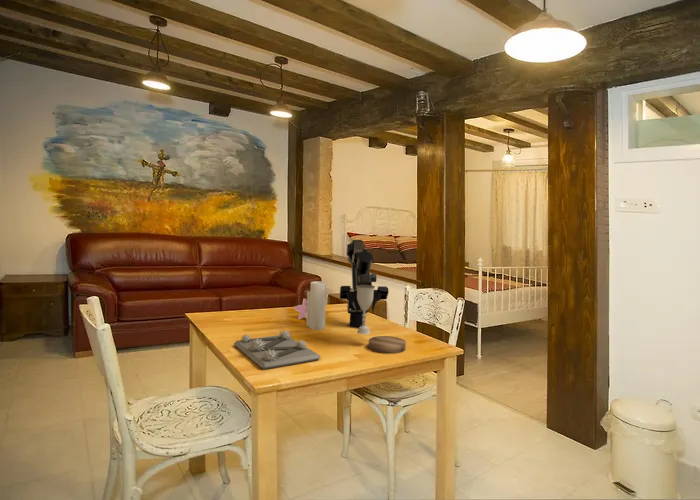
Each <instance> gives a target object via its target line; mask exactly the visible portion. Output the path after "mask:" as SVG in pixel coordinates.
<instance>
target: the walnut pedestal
mask: <svg viewBox="0 0 700 500" xmlns="http://www.w3.org/2000/svg"><path fill="white" fill-rule="evenodd" d="M406 344H407V342H406V340H405V339H403V338H400V337H397V336H391V335H379V336H378V335H377V336H374V337H371V338H369V339H368V349H369V350H371V351H372V352H375V353H378V354H379V353H381V354H389V353H390V354H400V353H402V352H403V353H404V351H406V348H407V345H406Z"/></svg>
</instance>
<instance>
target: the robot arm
mask: <svg viewBox="0 0 700 500" xmlns="http://www.w3.org/2000/svg"><path fill="white" fill-rule="evenodd" d="M346 257H347V261H348V262H349V263H350V264H351V284H352V286H351V285H341V286H340V287H339V299H340V300H347V305H346V306H347V310H346V312H347V314H349V323H348V324H347V325H346V326H347V327H351V328H356V329H359V327H360V326H362V325H363V321H362V319H363V316H362V315H363V310H362V309H361V308H360V306H359V304H358V300H357V287H356V285H373V283H376V282H377V281H378V280H377V273H370V272H371V271H370V270H371V267H372V263H373V262H374V256H373V255H372V252H370V251H369V250H368V249H366V245H365V243H364V240H362V239H353V240H351V242H350V243H348V244H347V247H346ZM389 292H390V291H389V287H388V286H387V285H385V286H382V285H380V286H377V289H374V291H373V301H372V304H371V312H372V313H373V312H374V311H375V308H376V305H377V302H380V301H381V300H388V296H389ZM367 313H369V309H368V310H366V314H367Z"/></svg>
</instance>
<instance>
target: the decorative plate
mask: <svg viewBox="0 0 700 500" xmlns="http://www.w3.org/2000/svg"><path fill="white" fill-rule="evenodd" d="M279 333H280V334H278V335H269V336H262V337H254V338H252V337H251V335H250V334H249V333H247V334H244V335H242V337H240V340H239V339H237V340H235V342H234V343H233V345H234V346H235V347H237V349H239V350H240V351H241V352H242V353H244V354H245V355H246V356H247V357H248V358H249V359H251V360H252V361H253V362H254V363H255V364H257V365H258V366H259V367H260V368H261V369H262V370H269V369H274V368H275V367H276V368H280V367H281V366H282V367H287V366H292V365H297V364H304V362H305V363H309V362H316V361H319V360H320V359H321V357H322V356H321V355H319V354H318V353H317V352H315V351H314V350H312V349H310V348H308V345H307V344H308V343H307V342H306V341H305V339H303V340H302V339H299V340H295V339H294V338H292V336H291V335H292V334H291V333H290V331H289V329H288V330H287V329H286V330H282V331H279Z"/></svg>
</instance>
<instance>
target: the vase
mask: <svg viewBox="0 0 700 500" xmlns="http://www.w3.org/2000/svg"><path fill="white" fill-rule="evenodd" d="M326 294H327V282H325V281H321V280H320V281H315V280H314V281H311V282H310V290H308V291H306V300H307V319H306V327H307V328H308V327H309V329H310V330H313V331H314V330H315V331H317V330H319V331H320V330H325V328H326V298H327V295H326Z"/></svg>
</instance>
